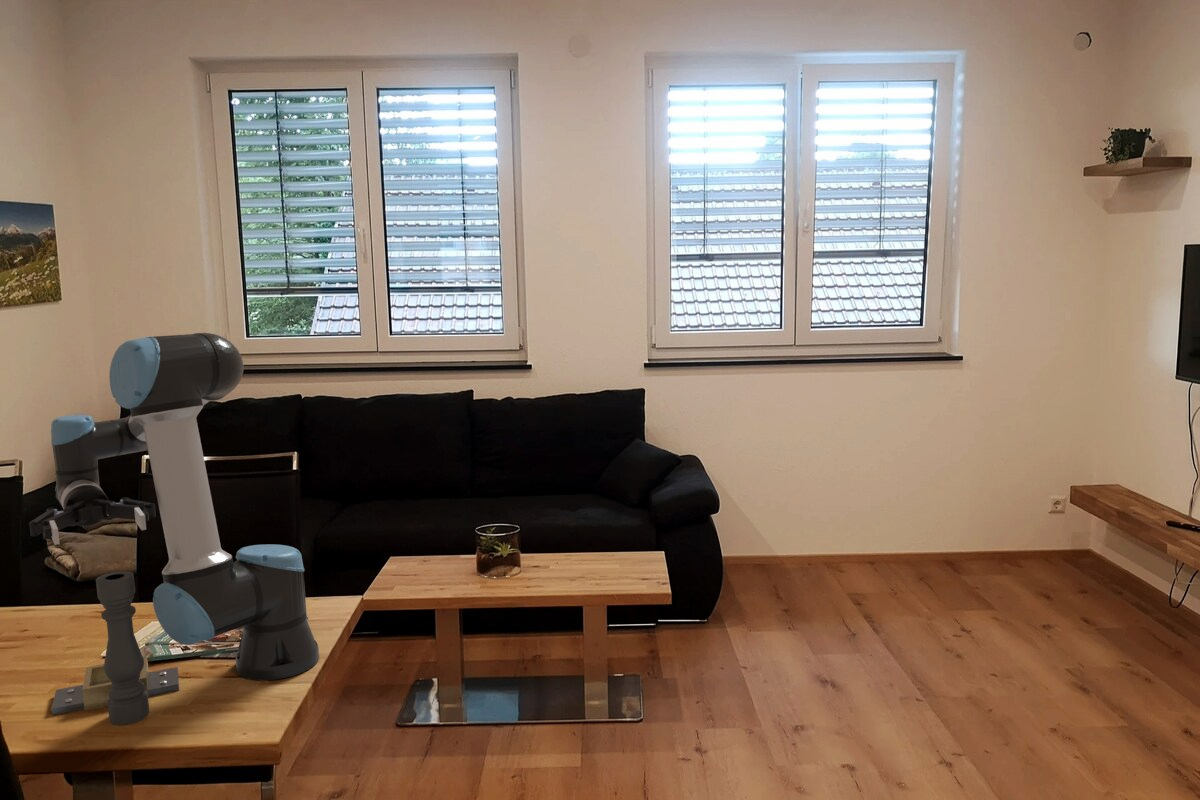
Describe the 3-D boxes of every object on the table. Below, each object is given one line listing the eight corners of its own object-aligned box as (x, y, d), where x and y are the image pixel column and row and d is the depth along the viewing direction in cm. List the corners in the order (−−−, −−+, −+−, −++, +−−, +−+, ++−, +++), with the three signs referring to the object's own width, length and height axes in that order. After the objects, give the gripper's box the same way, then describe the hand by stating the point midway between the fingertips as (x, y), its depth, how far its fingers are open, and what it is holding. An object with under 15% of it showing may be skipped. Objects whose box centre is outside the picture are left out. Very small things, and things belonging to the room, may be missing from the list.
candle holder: (138, 725, 156) (123, 583, 152) (101, 725, 156) (86, 583, 152) (156, 707, 162) (142, 570, 158) (121, 707, 162) (106, 570, 158)
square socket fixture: (178, 670, 176) (176, 650, 175) (179, 692, 167) (177, 671, 166) (57, 693, 168) (54, 673, 167) (51, 717, 159) (49, 696, 158)
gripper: (156, 511, 187) (179, 536, 170) (11, 533, 173) (19, 564, 156) (153, 475, 186) (175, 497, 169) (7, 495, 172) (14, 521, 154)
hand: (100, 529), depth 162 cm, fingers open, 13 cm apart
